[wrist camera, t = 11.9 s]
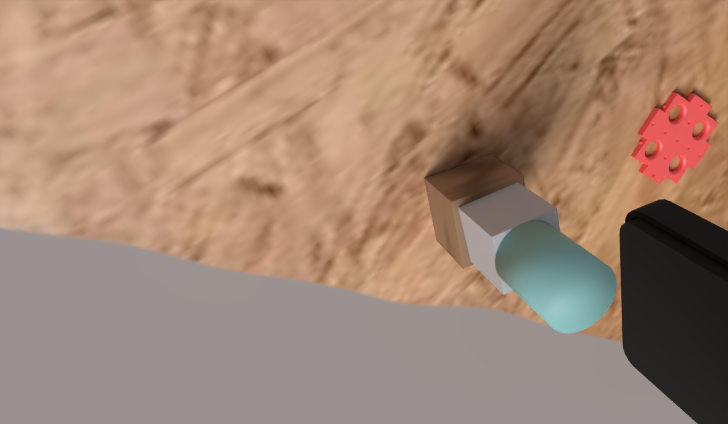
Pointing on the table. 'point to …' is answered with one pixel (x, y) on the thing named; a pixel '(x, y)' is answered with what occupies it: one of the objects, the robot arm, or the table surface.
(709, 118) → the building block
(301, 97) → the table surface
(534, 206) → the grey top block
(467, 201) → the walnut base block
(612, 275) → the teal cylinder
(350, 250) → the table surface
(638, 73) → the table surface
